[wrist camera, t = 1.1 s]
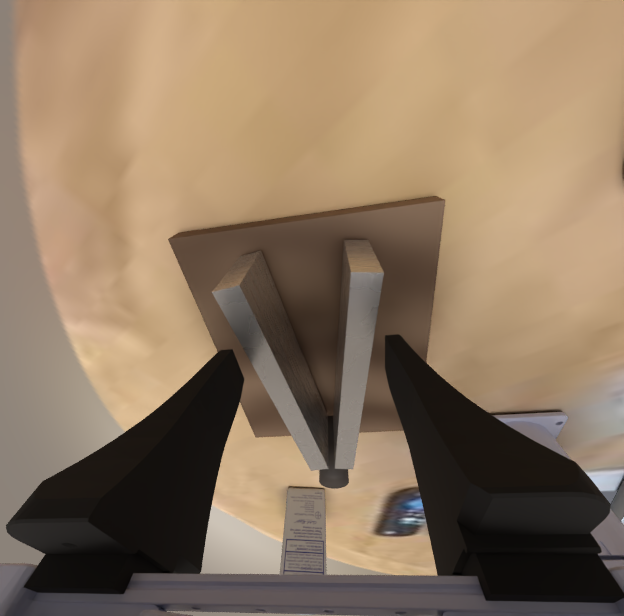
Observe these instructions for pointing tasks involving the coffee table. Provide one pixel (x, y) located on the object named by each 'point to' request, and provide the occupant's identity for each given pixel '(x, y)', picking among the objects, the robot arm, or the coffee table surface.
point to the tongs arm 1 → (275, 353)
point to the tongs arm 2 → (354, 344)
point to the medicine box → (304, 533)
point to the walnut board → (324, 297)
